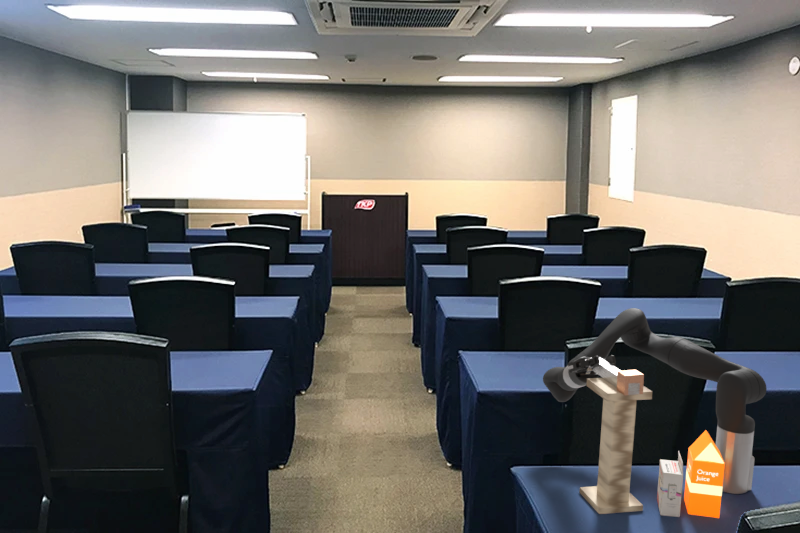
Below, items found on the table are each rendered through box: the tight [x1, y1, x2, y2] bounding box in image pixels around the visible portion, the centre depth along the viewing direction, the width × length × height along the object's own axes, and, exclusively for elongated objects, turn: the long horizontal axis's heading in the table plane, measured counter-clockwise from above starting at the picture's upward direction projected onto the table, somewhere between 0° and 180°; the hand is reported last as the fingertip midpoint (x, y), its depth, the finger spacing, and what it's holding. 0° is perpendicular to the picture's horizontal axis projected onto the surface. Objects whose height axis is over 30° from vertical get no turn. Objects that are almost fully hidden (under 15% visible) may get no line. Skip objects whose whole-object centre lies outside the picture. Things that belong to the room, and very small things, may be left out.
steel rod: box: [592, 357, 645, 396], centre depth 197 cm, size 5×22×5 cm, turn 11°
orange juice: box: [683, 429, 725, 519], centre depth 195 cm, size 8×9×20 cm
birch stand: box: [578, 377, 653, 515], centre depth 197 cm, size 12×12×32 cm
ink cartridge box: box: [656, 450, 684, 518], centre depth 195 cm, size 9×5×15 cm, turn 168°
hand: (605, 359), depth 201 cm, fingers open, 4 cm apart
